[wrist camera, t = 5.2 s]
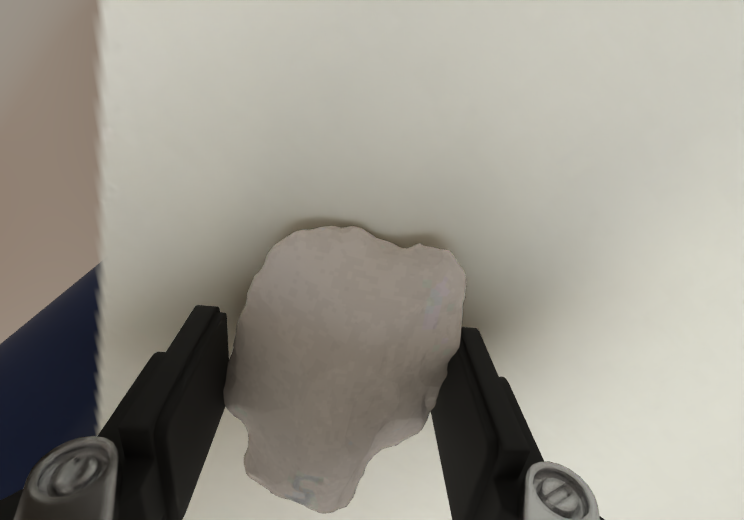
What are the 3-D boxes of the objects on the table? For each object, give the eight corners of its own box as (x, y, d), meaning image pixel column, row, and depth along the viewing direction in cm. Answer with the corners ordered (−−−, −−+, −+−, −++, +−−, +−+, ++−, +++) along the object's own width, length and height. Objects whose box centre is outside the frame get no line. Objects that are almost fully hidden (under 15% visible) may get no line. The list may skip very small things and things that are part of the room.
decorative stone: (369, 458, 14) (372, 551, 12) (208, 416, 13) (169, 509, 11) (496, 255, 11) (542, 322, 8) (289, 174, 10) (263, 220, 7)
